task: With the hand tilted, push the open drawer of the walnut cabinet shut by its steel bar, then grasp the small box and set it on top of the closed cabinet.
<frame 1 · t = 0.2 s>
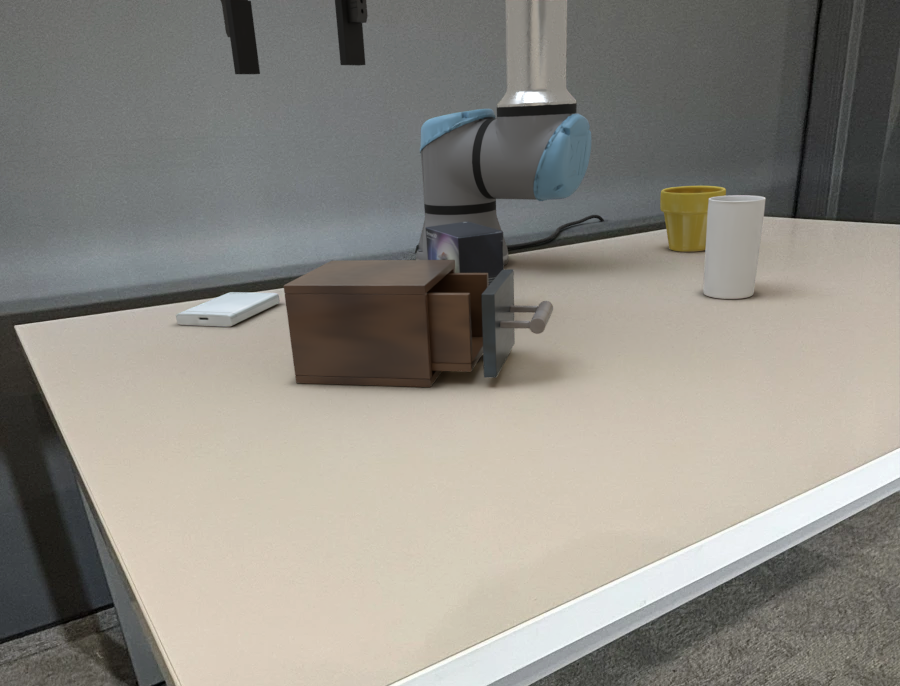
hand: (298, 70, 76), 28 cm above the table, tool pointing down, fingers open, 13 cm apart
drawer: (463, 320, 78), point 5 cm above the table, slide at 5.0 cm
flower pot: (688, 250, 136), on the table
small box: (466, 313, 101), on the table
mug: (730, 292, 105), on the table
hard drive: (230, 315, 106), on the table
cabinet: (381, 365, 82), on the table
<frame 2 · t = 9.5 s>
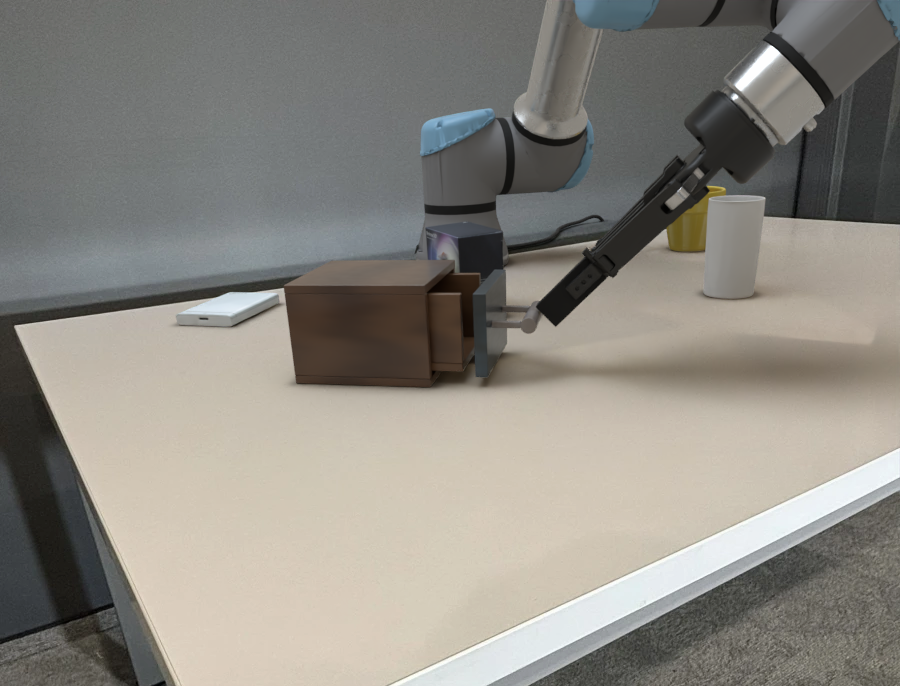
hand: (546, 315, 76), 5 cm above the table, tool tilted 45°, fingers closed
drawer: (455, 320, 78), point 5 cm above the table, slide at 4.2 cm, touching gripper
everything else where it was.
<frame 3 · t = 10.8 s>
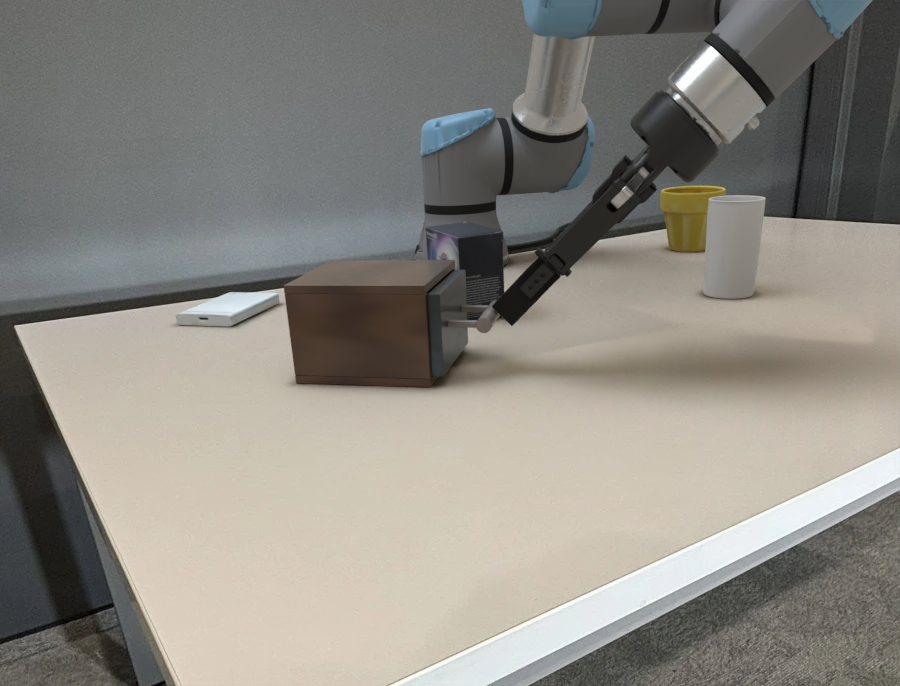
hand: (503, 314, 77), 5 cm above the table, tool tilted 45°, fingers closed
drawer: (414, 320, 79), point 5 cm above the table, slide at 0.0 cm, touching cabinet, gripper
everything else where it was.
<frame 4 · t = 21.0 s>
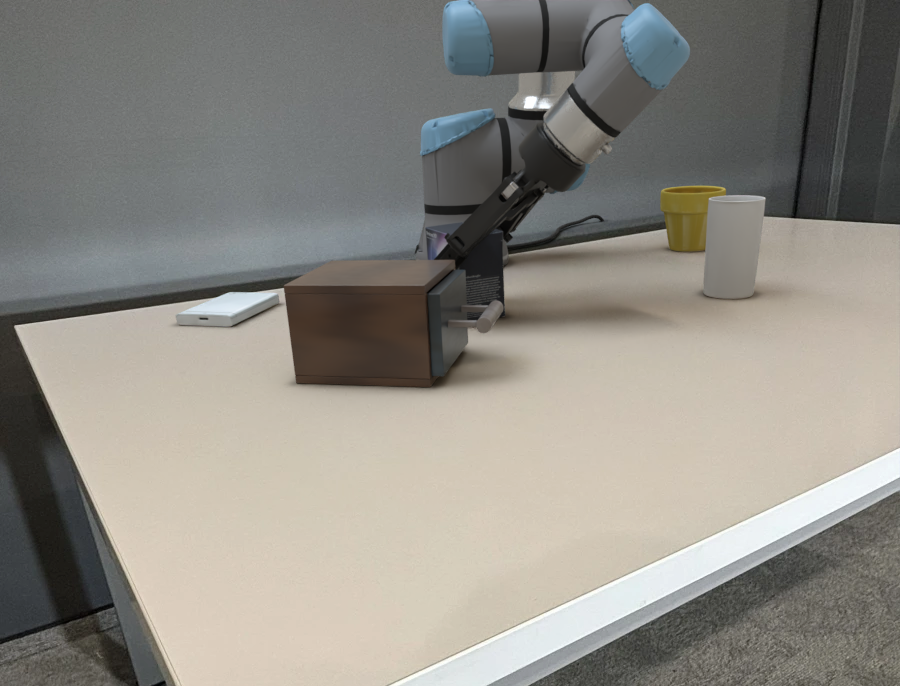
hand: (444, 277, 101), 4 cm above the table, tool tilted 45°, fingers closed on small box, 11 cm apart
drawer: (414, 320, 79), point 5 cm above the table, slide at 0.0 cm, touching cabinet
small box: (465, 313, 101), on the table, touching gripper
everything else where it was.
when the fingers open (14 cm above the table, at t = 28.7 s): small box stays where it is, resting on cabinet.
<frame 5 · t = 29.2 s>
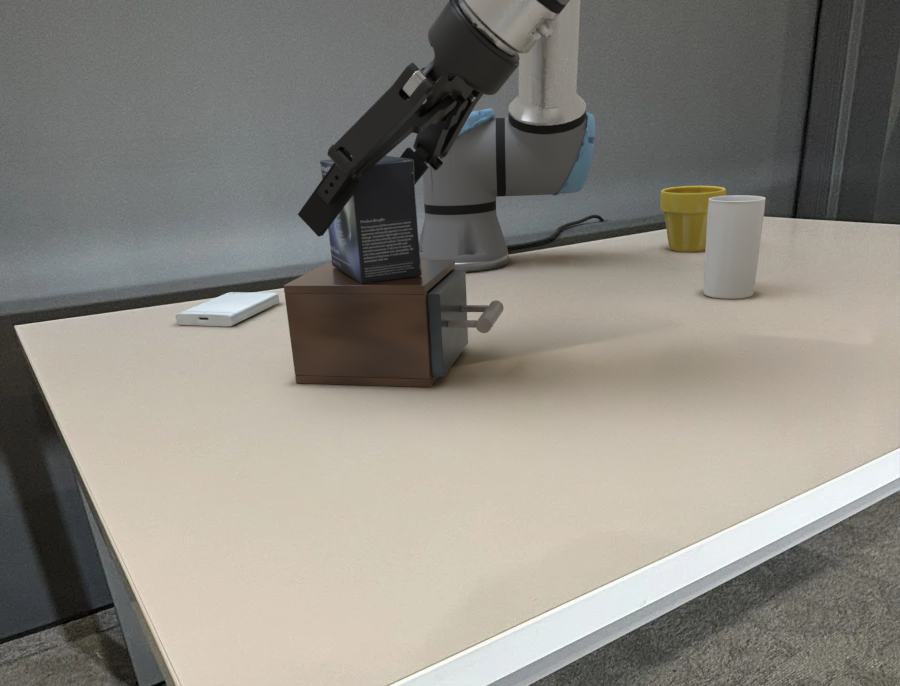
hand: (347, 215, 77), 15 cm above the table, tool tilted 45°, fingers open, 13 cm apart
small box: (374, 273, 78), point 9 cm above the table, touching cabinet
everything else where it was.
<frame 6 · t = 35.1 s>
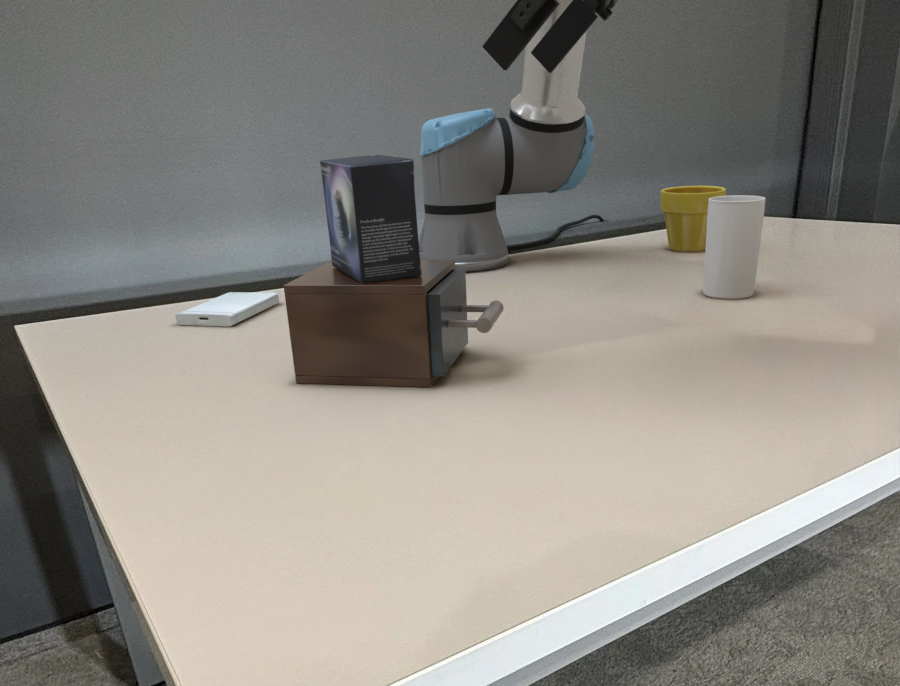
hand: (519, 61, 73), 28 cm above the table, tool tilted 45°, fingers open, 13 cm apart
nothing on the table moved.
at the end: drawer slide at 0.0 cm; small box inside the target area on the cabinet (0.0 cm from its centre), point 9.4 cm above the cabinet's base; small box tilted 0° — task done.
